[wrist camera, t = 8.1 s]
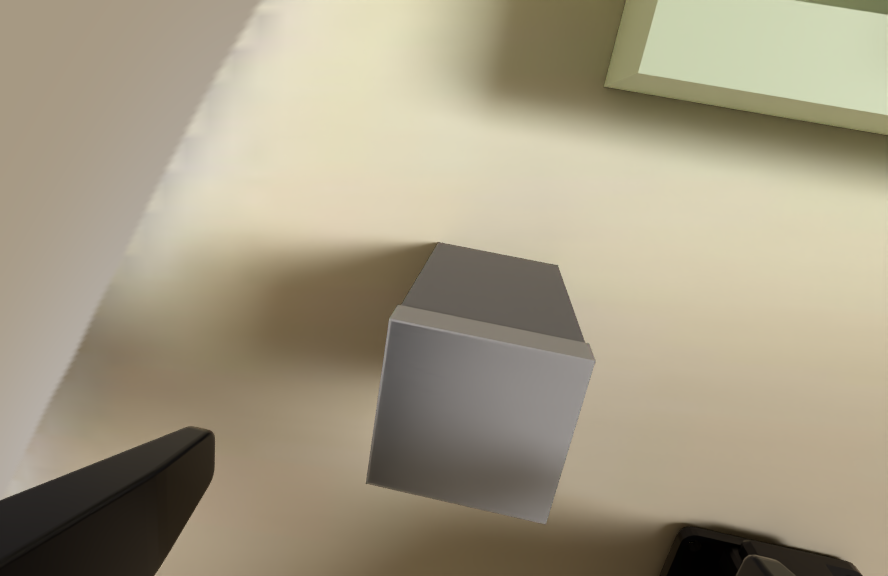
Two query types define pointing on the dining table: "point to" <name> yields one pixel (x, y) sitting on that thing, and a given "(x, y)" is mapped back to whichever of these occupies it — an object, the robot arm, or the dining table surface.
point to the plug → (480, 384)
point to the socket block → (760, 57)
